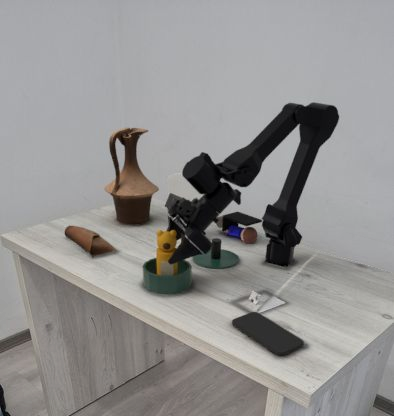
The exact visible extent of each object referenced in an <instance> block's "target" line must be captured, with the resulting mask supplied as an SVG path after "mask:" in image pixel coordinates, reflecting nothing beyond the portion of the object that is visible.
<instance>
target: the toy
mask: <svg viewBox="0 0 394 416" xmlns="http://www.w3.org/2000/svg"><path fill="white" fill-rule="evenodd" d="M176 235H177V232H176V231H175V230H171V231H170V232H169V231H166V230H165V231H163V230H162V229H158V230H157V231H156V236H157V238H156V245H157V248H156V250H155V252H156V256H155V258H157V275H163V276H171V275H178V262H177V263H174V264H172V265H171V264H169V263H168V260H169V258H170V257H171V256H172V254H173V253H174V251H175V250H176V249H177V247H176V246H177V242H178V240H176V237H175V236H176Z"/></svg>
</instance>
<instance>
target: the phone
mask: <svg viewBox="0 0 394 416" xmlns="http://www.w3.org/2000/svg"><path fill="white" fill-rule="evenodd" d="M231 325H232V326H233V327H234V328H236V329H238V330H239V331H240V332H242V333H244V334H245V335H246V336H248V337H250V338H251V339H252V340H254V341H255V342H257V343H258V344H260V345H262V346H263V347H265V348H266V349H268V350H269V351H270V352H272V353H273V354H275V355H276V356H285V355H287V354H289V353H292V352H294V351H296V350H298V349H300V348H302V347H304V343H305V342H304V340H303V339H302V338H300V337H298V336H297V335H295V334H294V333H292V332H291V331H289V330H287V329H285V328H284V327H282V326H281V325H279V324H277V323H276V322H274V321H272V319H269V318H268V317H266V316H265V315H263V314H261V313H258V312H257V311H251V312H249V313H246V314H243V315H240V316H238V317H236V318H235V317H234V318H233V319H232V320H231Z"/></svg>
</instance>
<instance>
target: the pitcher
mask: <svg viewBox="0 0 394 416" xmlns="http://www.w3.org/2000/svg"><path fill="white" fill-rule="evenodd" d="M146 133H149V130H148V129H145V128H138V127H132V128H131V127H129V126H128V127H124V128H120V129H117V130H115V131H113V132H112V133H111V135H110V137H109V140H108V141H109V142H108V148H109V152H110V156H111V160H112V163H113V167H114V172H115V178H114V179H112V180H111V182H109V183H107V184H106V185H105V186H104V191H105V192H106V193H107V194H109V195H110V196H111V197H112V199H113V204H114V209H115V214H116V215H115V217H116V221H117V222H118V223H120V224H122V225H126V226H127V225H128V226H139V225H144V224H147V223H148V222H150V220H151V218H150V214H151V205H152V204H151V203H152V198H153V196H154V194H155V193H157V192H158V191H160V188H159V186H157V185H156V184H154V183H153V182H151V180H150V179H148V178H147V177H146V175H145V174H144V173H143V172H142V170H141V167H140V166H139V161H138V155H137V153H138V152H137V148H138V142H139V140H140V137H141V136H142V135H144V134H146ZM117 140H118V142H119V143H120V144H121V145H122V146H123V147H124V161H123V167H122V169H121V171H120V163H119V159H118V155H117V154H118V153H117V148H116V143H117Z"/></svg>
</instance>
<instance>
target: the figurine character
mask: <svg viewBox="0 0 394 416" xmlns="http://www.w3.org/2000/svg"><path fill="white" fill-rule="evenodd" d="M217 219H218V220H219V221H218V222H217V223H215V224H216V226H217V228H218V229H221V232H222V233H223V234H224V235H228V236H233V237H236V238H239V239H241V241H242V242H243V243H244V244H249V245H250V244H253V243H255V242H256V241H257V240H258V235H259V234H258V231H257V229H256V228H254V227H252V225H257V224H259V223H260V224H261V223H262V222H263V219H262V218H259V217H255V216H252V215H249V214H247V213H243V212H240V211H235V212H231V213H226V214H223V215H221V216H220V215H219V216H218V217H217ZM239 225H241V226H239ZM242 226H244V227H242Z"/></svg>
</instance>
